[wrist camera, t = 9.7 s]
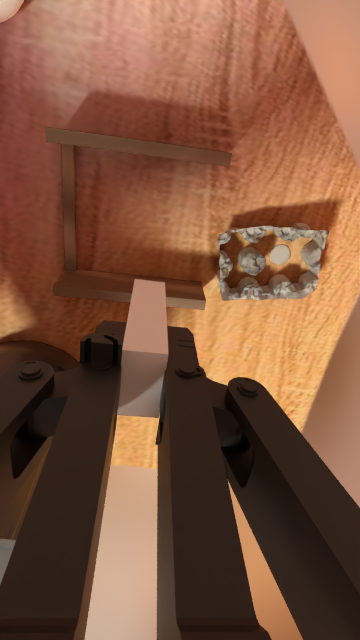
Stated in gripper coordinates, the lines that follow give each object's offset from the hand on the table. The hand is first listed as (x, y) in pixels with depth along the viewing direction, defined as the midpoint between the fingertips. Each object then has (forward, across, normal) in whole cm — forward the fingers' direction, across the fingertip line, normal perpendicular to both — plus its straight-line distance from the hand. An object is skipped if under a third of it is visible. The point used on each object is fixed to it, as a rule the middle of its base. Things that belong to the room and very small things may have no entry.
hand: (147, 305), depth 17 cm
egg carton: (+20, -12, +2) cm, 23 cm away
